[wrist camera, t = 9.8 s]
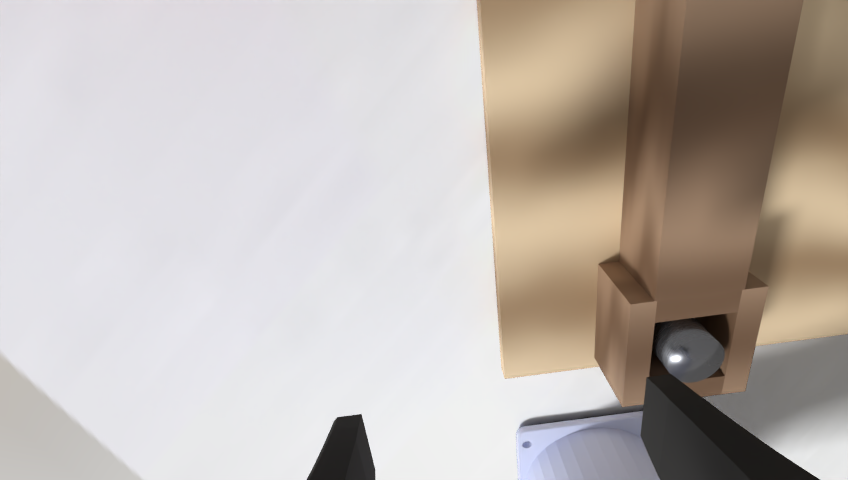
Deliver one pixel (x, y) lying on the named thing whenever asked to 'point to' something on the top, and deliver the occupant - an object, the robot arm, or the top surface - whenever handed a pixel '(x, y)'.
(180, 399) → the top surface
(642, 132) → the link
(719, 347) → the post
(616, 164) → the board
